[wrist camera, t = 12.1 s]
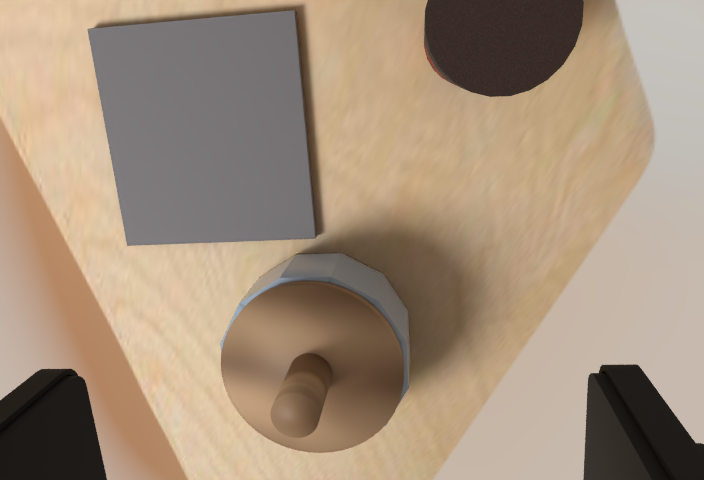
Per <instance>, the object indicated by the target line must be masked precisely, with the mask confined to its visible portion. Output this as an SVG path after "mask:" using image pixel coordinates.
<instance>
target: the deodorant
mask: <svg viewBox="0 0 704 480" xmlns="http://www.w3.org/2000/svg"><path fill="white" fill-rule="evenodd" d="M583 4H584V2H583V0H428V2H427V5H426V9H425V28H424V48H425V51H426V55H427V59H428V61H429V62H430V64H431V66H432V68H433V69H434V70H435V71H436V72H437V73H438V74H439V75H440V76H441V77H442V78H443V79H445V80H447V81H449V82H450V83H452V84H454V85H456V86H459V87H461V88H463V89H465V90H468V91H470V92H473V93H477V94H481V95H485V96H490V97H493V96H512V95H515V94H519V93H522V92H525V91H529V90H531V89H533V88H534V87H536V86H538V85H539V84H541V83H543V82H544V81H546V80H548V79H549V78H550V77H551V76H552V75H553V74H554V73H555V72H556V71H557V70H558V69H559V68H560V67H561V66H562V65H563V64H564V63H565V61H566V60H567V58H568V56H569V55H570V53H571V52H572V50H573V48H574V47H575V45H576V42H577V39H578V36H579V33H580V30H581V27H582V18H583Z"/></svg>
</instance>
